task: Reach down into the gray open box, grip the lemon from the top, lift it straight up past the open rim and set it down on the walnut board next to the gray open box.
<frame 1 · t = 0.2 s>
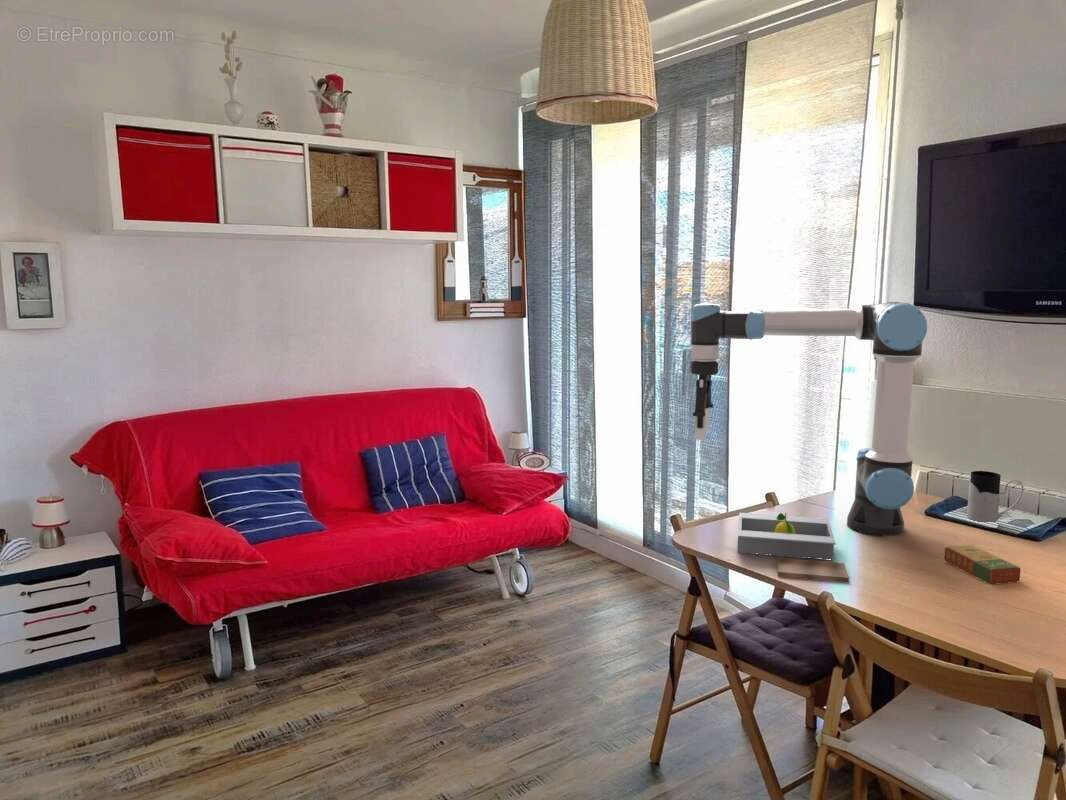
hand: (702, 434, 225), 28 cm above the table, tool pointing down, fingers open, 13 cm apart
gray open box: (783, 548, 212), on the table
lemon: (783, 549, 212), resting in gray open box
carton: (980, 573, 196), on the table
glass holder: (991, 525, 231), on the table
walnut board: (811, 572, 195), on the table
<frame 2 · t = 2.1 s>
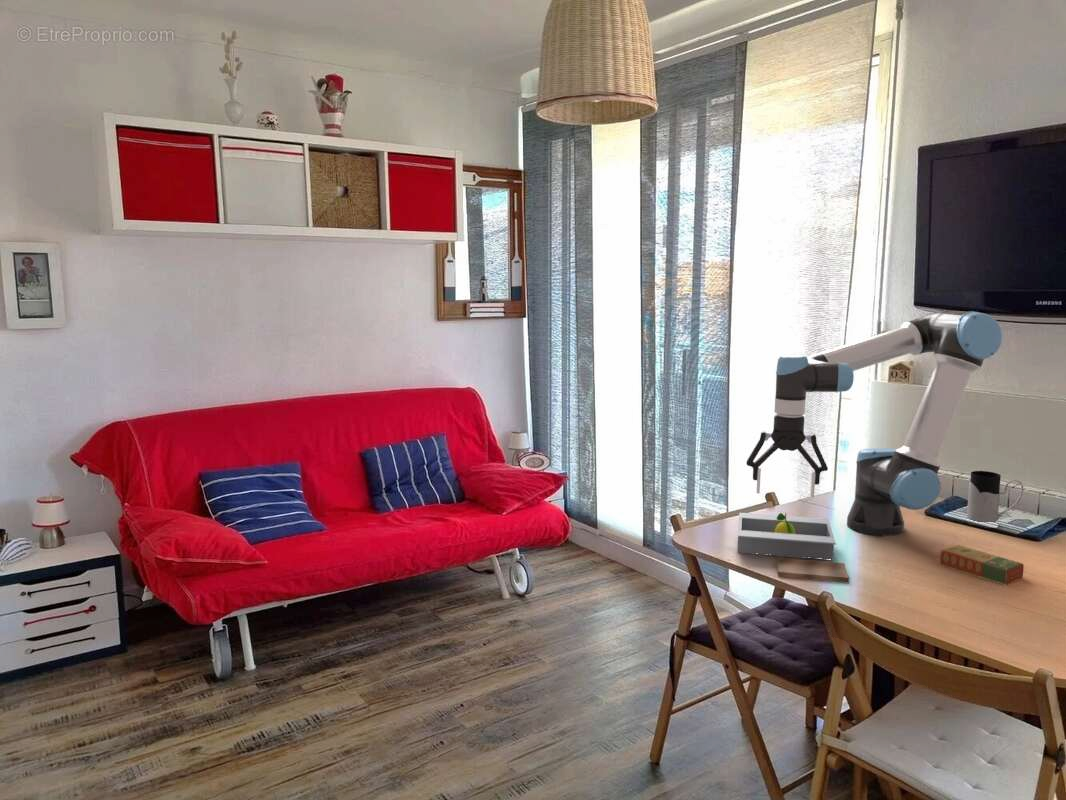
hand: (784, 494, 210), 15 cm above the table, tool pointing down, fingers open, 13 cm apart
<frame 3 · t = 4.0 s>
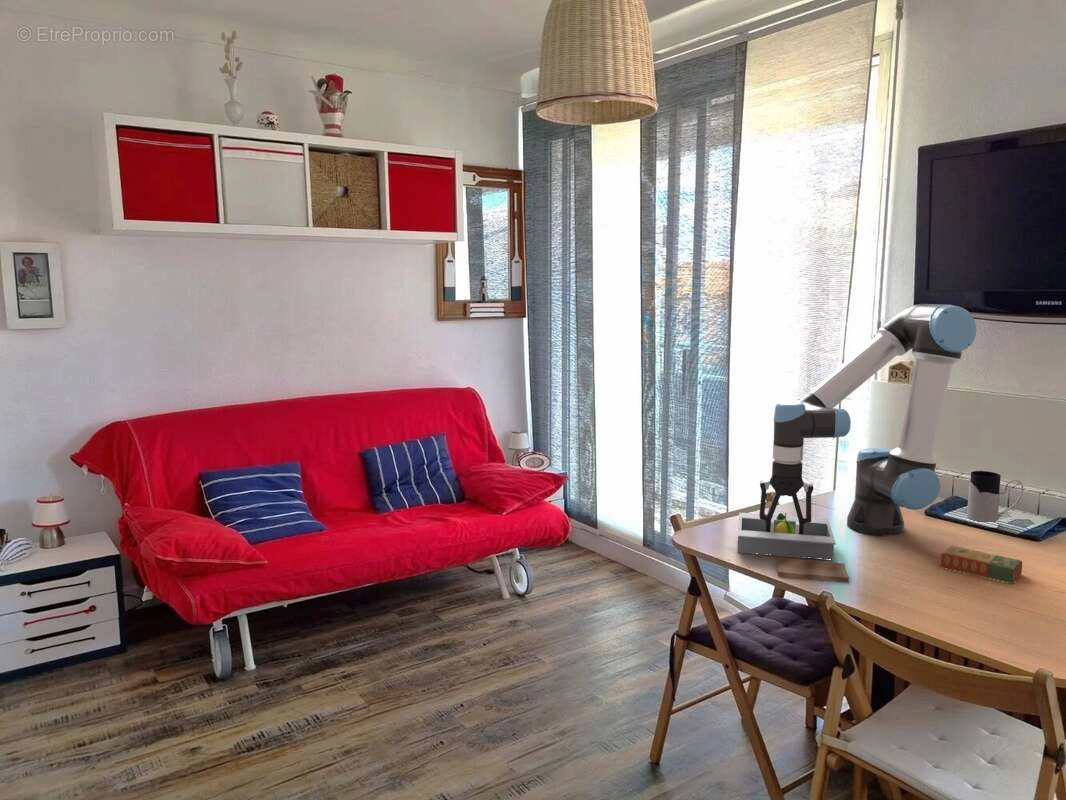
hand: (783, 545, 212), 1 cm above the table, tool pointing down, fingers closed on lemon, 6 cm apart
lemon: (783, 549, 212), resting in gray open box, touching gripper
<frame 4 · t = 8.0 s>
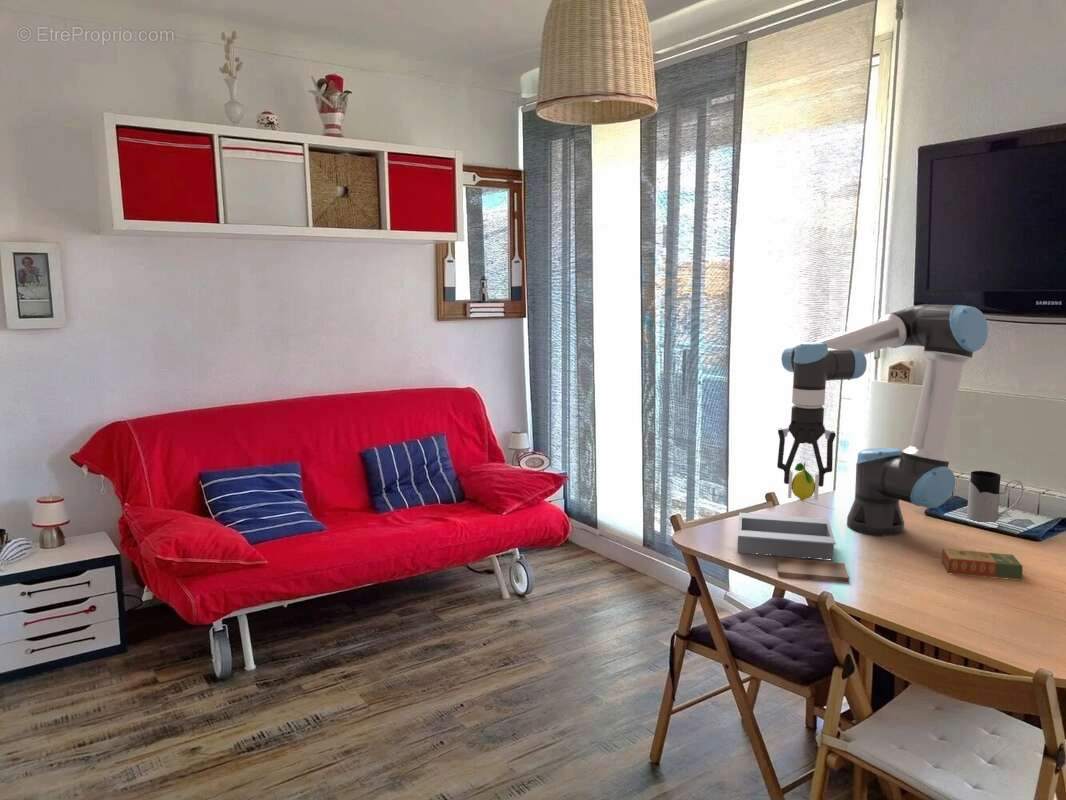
hand: (802, 497, 198), 17 cm above the table, tool pointing down, fingers closed on lemon, 5 cm apart
lemon: (801, 501, 199), point 16 cm above the table, touching gripper
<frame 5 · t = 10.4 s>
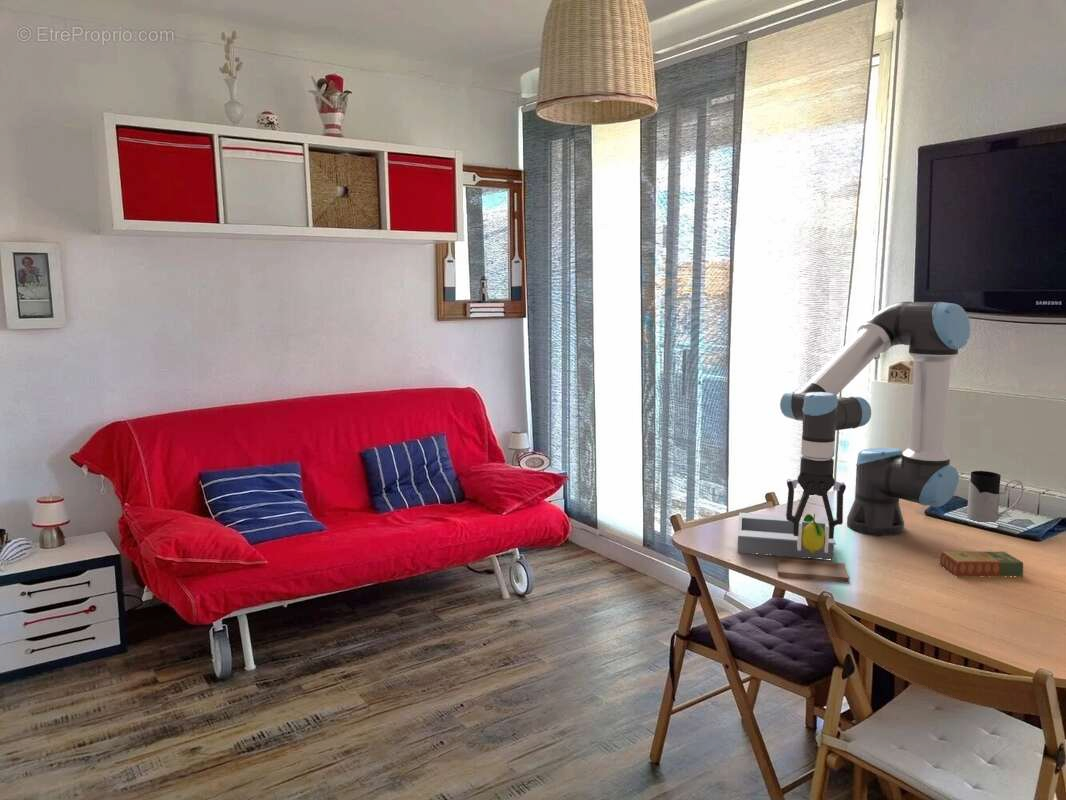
hand: (812, 549, 194), 6 cm above the table, tool pointing down, fingers closed on lemon, 5 cm apart
lemon: (811, 553, 195), point 5 cm above the table, touching gripper
when the fingers open (3 cm above the table, at t = 11.8 s): lemon stays where it is, resting on walnut board.
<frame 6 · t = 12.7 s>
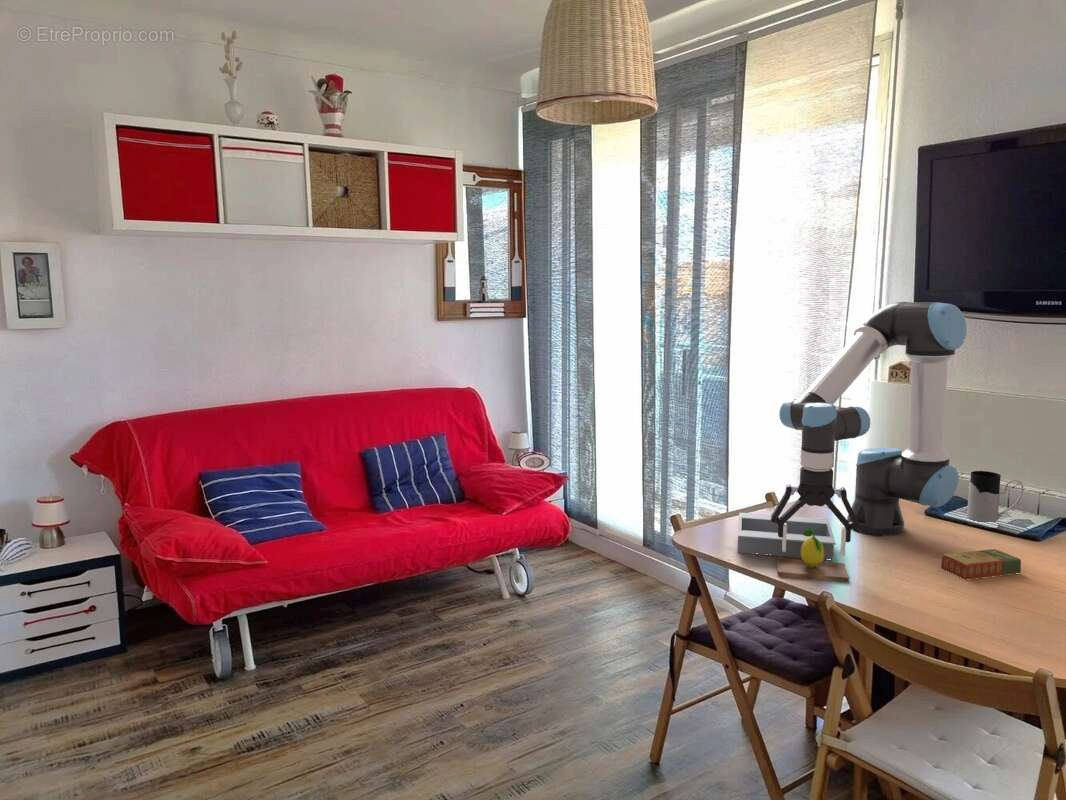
hand: (812, 552, 195), 5 cm above the table, tool pointing down, fingers open, 13 cm apart
lemon: (811, 568, 195), point 1 cm above the table, touching walnut board
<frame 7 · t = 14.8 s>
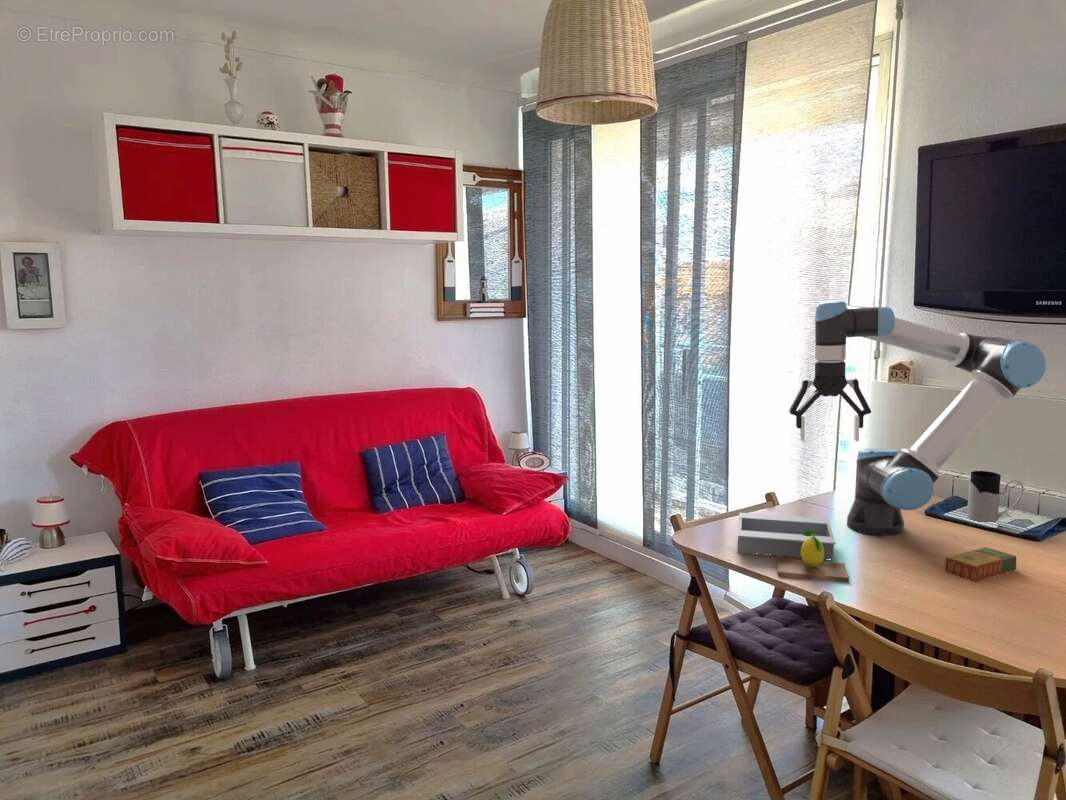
hand: (829, 440, 212), 29 cm above the table, tool pointing down, fingers open, 13 cm apart
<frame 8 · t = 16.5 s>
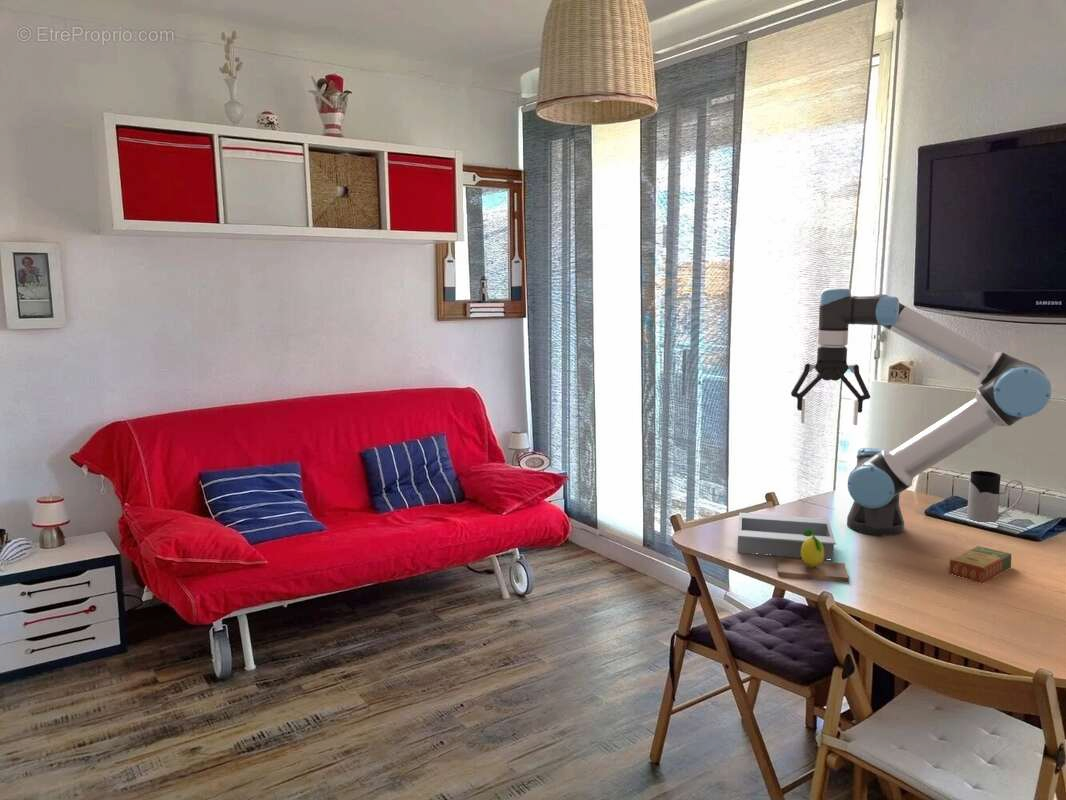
hand: (828, 423, 219), 32 cm above the table, tool pointing down, fingers open, 13 cm apart
at the end: lemon inside the target area on the walnut board (0.1 cm from its centre), point 1.0 cm above the walnut board's base; lemon touching walnut board; the gripper is holding nothing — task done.
